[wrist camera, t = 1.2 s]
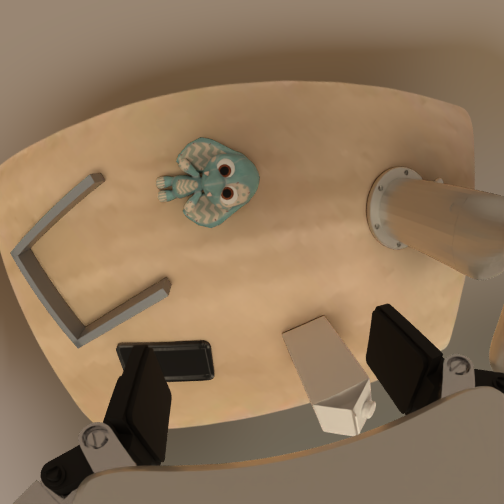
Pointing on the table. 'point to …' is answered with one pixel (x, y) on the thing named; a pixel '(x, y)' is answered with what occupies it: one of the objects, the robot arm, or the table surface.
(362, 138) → the table surface
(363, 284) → the table surface
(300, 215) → the table surface
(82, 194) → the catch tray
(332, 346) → the milk carton
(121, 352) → the phone
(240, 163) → the stuffed animal
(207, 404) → the table surface
